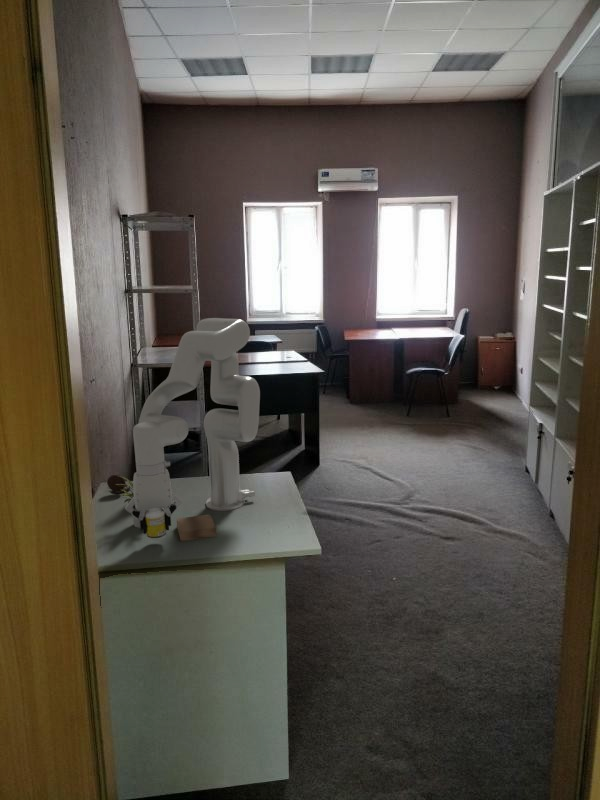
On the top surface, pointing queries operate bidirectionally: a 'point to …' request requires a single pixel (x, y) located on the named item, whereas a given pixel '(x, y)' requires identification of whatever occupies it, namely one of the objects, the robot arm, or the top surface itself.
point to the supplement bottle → (155, 524)
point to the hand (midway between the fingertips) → (156, 529)
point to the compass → (117, 480)
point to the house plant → (135, 519)
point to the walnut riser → (196, 527)
